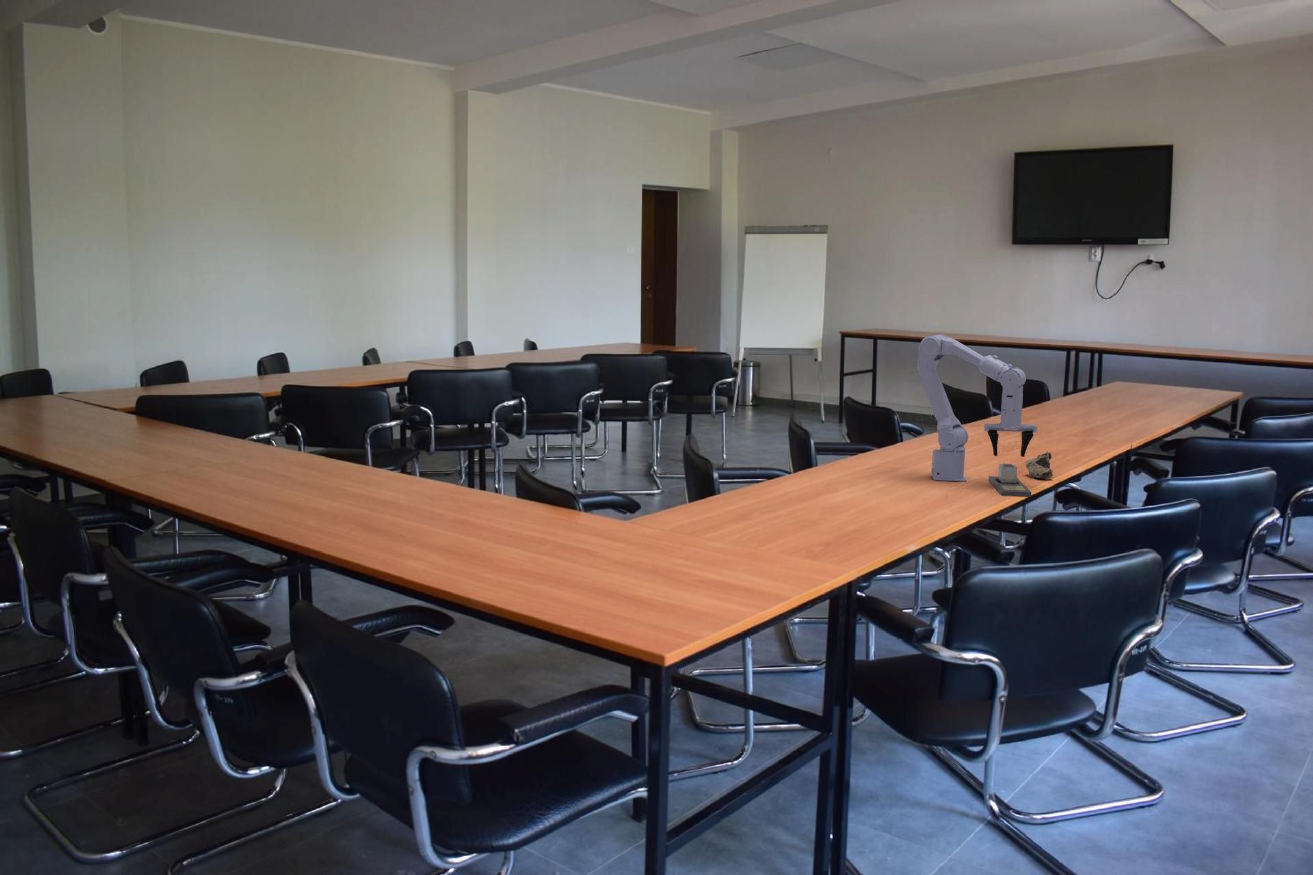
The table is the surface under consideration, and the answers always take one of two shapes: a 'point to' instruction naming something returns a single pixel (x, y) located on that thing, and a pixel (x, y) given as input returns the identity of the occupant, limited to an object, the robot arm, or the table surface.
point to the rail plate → (1010, 488)
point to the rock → (1040, 467)
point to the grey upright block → (1007, 474)
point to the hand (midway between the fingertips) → (1008, 455)
